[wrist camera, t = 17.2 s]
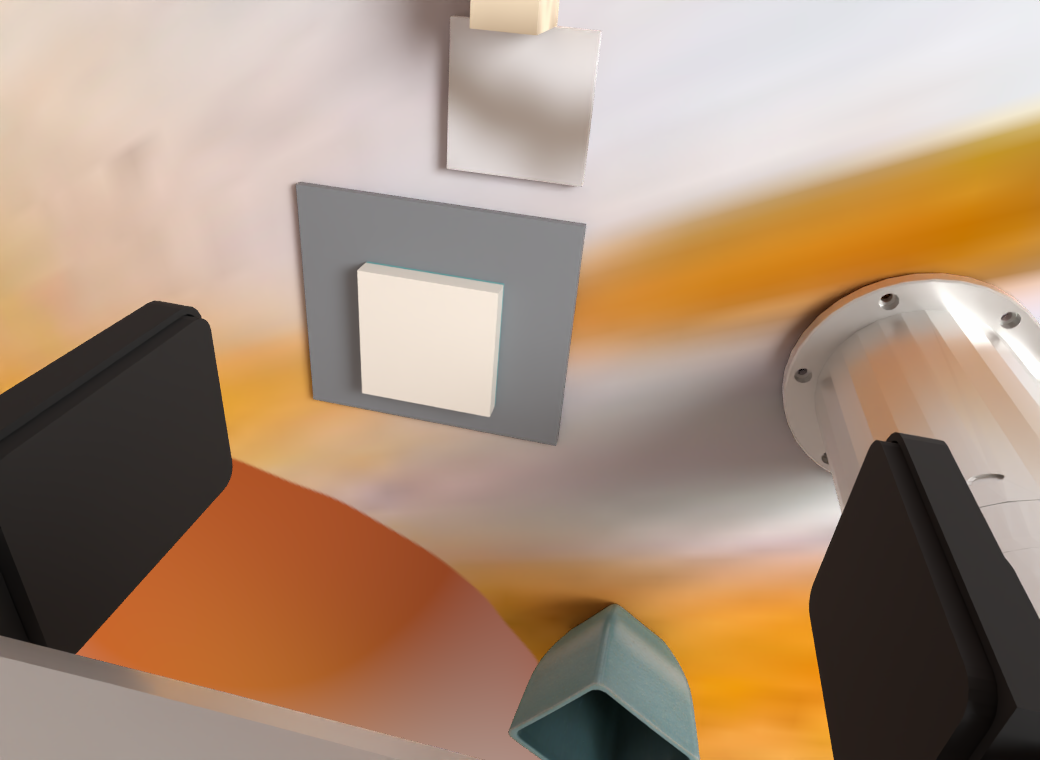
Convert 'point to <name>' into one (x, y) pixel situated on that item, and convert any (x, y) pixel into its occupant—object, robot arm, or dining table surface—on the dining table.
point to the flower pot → (608, 696)
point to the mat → (454, 251)
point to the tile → (429, 337)
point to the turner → (520, 92)
